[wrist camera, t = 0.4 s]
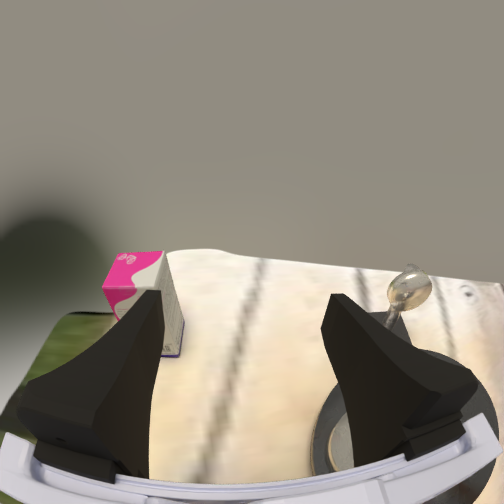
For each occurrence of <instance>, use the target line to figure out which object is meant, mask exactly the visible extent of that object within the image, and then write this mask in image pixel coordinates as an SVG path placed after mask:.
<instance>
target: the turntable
mask: <svg viewBox="0 0 504 504" xmlns="http://www.w3.org/2000/svg"><path fill="white" fill-rule="evenodd" d="M420 350H422V351H424V352H426V353H428V354H430V355H432V356H434V357H436V358H439V359H441V360H444V361H446V362H449V363H451V364H455V365H458V366H461V367H464V366H463V365H462V364H460V363H459V362H457V361H455V360H453V359H452V358H450V357H448V356H445V355H443V354H440V353H437V352H433V351H429V350H423V349H420ZM465 368H466V367H465ZM474 376H475V375H474ZM475 377H476V376H475ZM476 379H477V378H476ZM477 381H478V382H479V385H478V389H477V391H476V392H475V394H474V395H473V396H472V398H471V399H470V400H469V401H468V402H467V403H466V404H465V405H464V407H463V408H462V409H461V410H460V411H461V413H462V414H463V417H462V418H461V419H460V421H461V423H462V424H463V423H464V422H466V421H467V420H469V419H471V418H473V417H475V416H476V415H478V414H480V413H483V414H484V416H485V418H486V419H487V421H488V423H489V425H490V427H491V428H492V430H493V432H494V434H495V436H496V438H497V440H498V441H499V428H498V420H497V416H496V412H495V408H494V406H493V403H492V401H491V398H490V397H489V395H488V393H487V391H486V389H485V388H484V386H483V385H482V384H481V382H480V381H479V380H478V379H477ZM345 413H346V408H345V403H344V399H343V395H342V392H341V389H340V386H339V383H337V385H336V386H335V387H334V389H333V390H332V391H331V393H330V394H329V396H328V398H327V400H326V401H325V403H324V405H323V407H322V409H321V411H320V413H319V416H318V418H317V420H316V423H315V427H314V430H313V434H312V441H311V467H312V474H313V476H319V475H324V474H329V473H330V471H329V469H328V467H327V465H326V462H325V456H324V450H325V444H326V441H327V438H328V436H329V434H330V432H331V431H332V430H333V428H334V427H335V426H336V424H337V423H338V422H339V420H340V419H341V418H342V416H343V415H344V414H345ZM496 458H497V457H496ZM496 458H495V459H494V460H492V461H491V462H490V463H488V464H487V465H486V466H484V467H483V468H481V469H480V470H479V471H477V472H476V473H474V474H473V475H471V476H470V477H468V478H467V479H465V480H463V481H462V482H460V483H459V484H457V485H455V486H454V487H452V488H450V489H448V490H447V491H445V492H443V493H441V494H439V495H437V496H436V497H434V498H432V499H430V500H428V501H426V502H424V503H422V504H473V502H474V501H475V500H476V499H477V498H478V496H479V495H480V494H481V492H482V491H483V489H484V488H485V486H486V484H487V482H488V480H489V478H490V476H491V474H492V471H493V468H494V465H495V462H496Z"/></svg>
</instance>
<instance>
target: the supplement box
mask: <svg viewBox="0 0 504 504" xmlns="http://www.w3.org/2000/svg"><path fill="white" fill-rule="evenodd" d="M102 289H103V291H104V293H105V296H106V297H107V300H108V302H109V304H110V306H111V308H112V310H113V312H114V314H115V316H116V318H117V320H118V321H119V320H120V319H121V318H122V317H123V316H124V315H125V314H126V312H127V311H128V310H129V309H130V308H131V307H132V306H133V305H134V303H135V302H136V301H137V300H138V299H139V298H140V296H141V295H142V294H143V293H144V292H145V291H146V290H161V295H162V304H163V313H164V321H165V334H164V343H163V350H162V354H161V357H179V355H180V349H181V342H182V335H183V328H184V319H183V315H182V312H181V309H180V305H179V302H178V298H177V294H176V291H175V287H174V283H173V280H172V276H171V272H170V268H169V264H168V260H167V256H166V252H165V251H155V252H136V253H119V254H118V255H117V257H116V259H115V261H114V264H113V266H112V268H111V270H110V272H109V274H108V276H107V278H106V280H105V282H104V284H103V286H102Z"/></svg>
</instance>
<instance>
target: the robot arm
mask: <svg viewBox="0 0 504 504" xmlns="http://www.w3.org/2000/svg"><path fill="white" fill-rule="evenodd" d="M321 333H322V337H323V341H324V346H325V349H326V352H327V354H328V357H329V360H330V362H331V365H332V367H333V370H334V373H335V375H336V378H337V380H338V383H339V386H340V389H341V392H342V395H343V399H344V403H345V408H346V412H347V417H348V422H349V427H350V434H351V441H352V449H353V460H354V468H352V469H348V470H344V471H339V472H334V473H329V474H324V475H319V476H313V477H307V478H300V479H293V480H285V481H276V482H264V483H248V484H195V483H179V482H168V481H159V480H151V479H149V427H150V412H151V401H152V394H153V389H154V384H155V380H156V375H157V371H158V367H159V362H160V358H161V354H162V350H163V343H164V334H165V321H164V313H163V304H162V295H161V290H146V291H145V292H144V293H143V294H142V295H141V296H140V298H139V299H138V300H137V301H136V302H135V303H134V305H133V306H132V307H131V308H130V309H129V310H128V311H127V312H126V314H125V315H124V316H123V317H122V318H121V319H120V320H119V321H118V322H117V323H116V324H115V325H114V326H113V327H112V328H111V329H110V330H109V331H108V332H107V333H106V334H105V335H104V336H103V337H102V338H100V339H99V340H98V341H97V342H96V343H94V344H93V345H92V346H91V347H89V348H88V349H87V350H85V351H84V352H82V353H81V354H79V355H78V356H77V357H75V358H74V359H72V360H71V361H69V362H67V363H66V364H64V365H62V366H60V367H58V368H57V369H55V370H53V371H51V372H49V373H47V374H44V375H42V376H40V377H38V378H35V379H33V380H31V381H28V383H27V385H26V387H25V389H24V391H23V394H22V396H21V399H20V401H19V403H18V406H17V408H16V413H17V415H18V418H19V419H20V421H21V422H22V423H23V424H24V425H25V426H26V427H27V429H28V430H29V431H30V432H31V433H32V434H33V435H34V436H35V437H36V438H37V439H38V440H37V444H36V446H35V445H34V444H32V443H31V442H29V441H27V440H24V439H22V438H20V437H17V436H15V435H13V434H10V433H8V432H7V433H6V434H5V437H4V440H3V443H2V446H1V449H0V490H1V491H2V492H4V493H6V494H7V495H9V496H11V497H13V498H14V499H16V500H18V501H20V502H22V503H24V504H422V503H424V502H426V501H428V500H430V499H432V498H434V497H436V496H437V495H439V494H441V493H443V492H445V491H447V490H448V489H450V488H452V487H454V486H455V485H457V484H459V483H460V482H462V481H463V480H465V479H467V478H468V477H470V476H471V475H473V474H474V473H476V472H477V471H479V470H480V469H481V468H483V467H484V466H486V465H487V464H488V463H490V462H491V461H492V460H494V459H495V458H496V457H497V456H499V455H500V454H501V453H502V452H503V449H502V447H501V445H500V443H499V441H498V440H497V438H496V436H495V434H494V432H493V430H492V428H491V427H490V425H489V423H488V421H487V419H486V418H485V416H484V414H483V413H480V414H478V415H476V416H475V417H473V418H471V419H469V420H467V421H466V422H464V423H463V424H462V423H461V421H460V419H461V418H462V417H463V414H462V413H461V411H460V410H461V409H462V408H463V407H464V405H465V404H466V403H467V402H468V401H469V400H470V399H471V398H472V396H473V395H474V394H475V392H476V391H477V389H478V385H479V382H478V381H477V379H476V377H475V376H474V374H473V373H472V371H471V370H470V369H468V368H465V367H461V366H458V365H455V364H451V363H449V362H446V361H444V360H441V359H439V358H436V357H434V356H432V355H430V354H428V353H426V352H424V351H422V350H420V349H418V348H416V347H414V346H413V345H411V344H409V343H408V342H406V341H404V340H403V339H401V338H400V337H398V336H397V335H395V334H394V333H392V332H391V331H390V330H388V329H387V328H386V327H384V326H383V325H382V324H381V323H379V322H378V321H377V320H375V319H374V318H373V317H372V316H371V315H369V314H368V313H367V312H366V311H365V310H363V309H362V308H361V307H360V306H359V305H357V304H356V303H355V302H354V301H353V300H351V299H350V298H349V297H348V296H346V295H345V294H331V296H330V299H329V303H328V306H327V309H326V313H325V316H324V319H323V322H322V326H321Z"/></svg>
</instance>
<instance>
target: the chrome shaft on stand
mask: <svg viewBox="0 0 504 504" xmlns="http://www.w3.org/2000/svg"><path fill="white" fill-rule="evenodd" d="M431 291H432V283H431V281H430V279H429V277H428V276H427V274H426V273H425V272H424V271H423V270H420V269H419V268H418V267H417V266H416V265H414V264H408V265H407V266H406V268H405V271H404V272H403V273H402V274H400V275H398V276H397V277H396V278H395V279H394V280H393V281H392V282H391V283H390V285H389V287H388V290H387V297H388V299H389V302H390V304H391V305H390V307H389V309H388V311H386V312H372V313H368V314H369V315H371V316H372V317H373V318H374V319H375V320H377V321H378V322H379V323H381V324H382V325H383V326H384V327H386V328H387V329H388V330H390V331H391V332H392V333H394V334H395V335H397V336H398V337H400V338H401V339H403V340H404V341H406V342H408V343H409V344H411V345H412V343H411V340H410V338H409V335H408V332H407V330H406V327H405V324H404V322H403V319H402V317H401V312H402V311H408V310H412V309H414V308H416V307H418V306H419V305H421V304H422V303H423V302H424V301H425V300H426V299H427V298H428V297H429V295H430V293H431Z"/></svg>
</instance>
